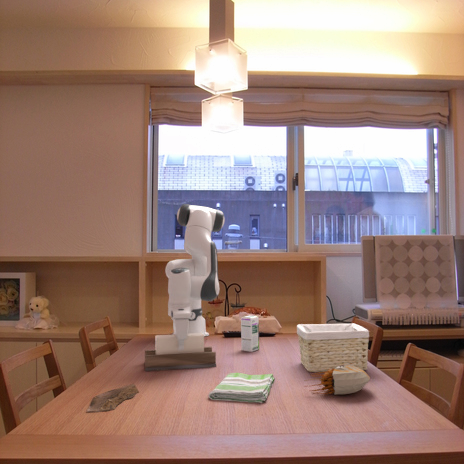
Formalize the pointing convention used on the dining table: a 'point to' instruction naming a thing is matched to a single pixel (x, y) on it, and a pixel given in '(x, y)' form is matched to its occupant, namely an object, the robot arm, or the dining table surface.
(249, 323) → the syrup box
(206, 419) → the dining table surface
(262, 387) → the dish towel
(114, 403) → the wooden fragment
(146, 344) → the dining table surface
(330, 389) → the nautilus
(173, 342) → the white rectangular block
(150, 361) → the slot rack
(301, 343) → the storage basket
